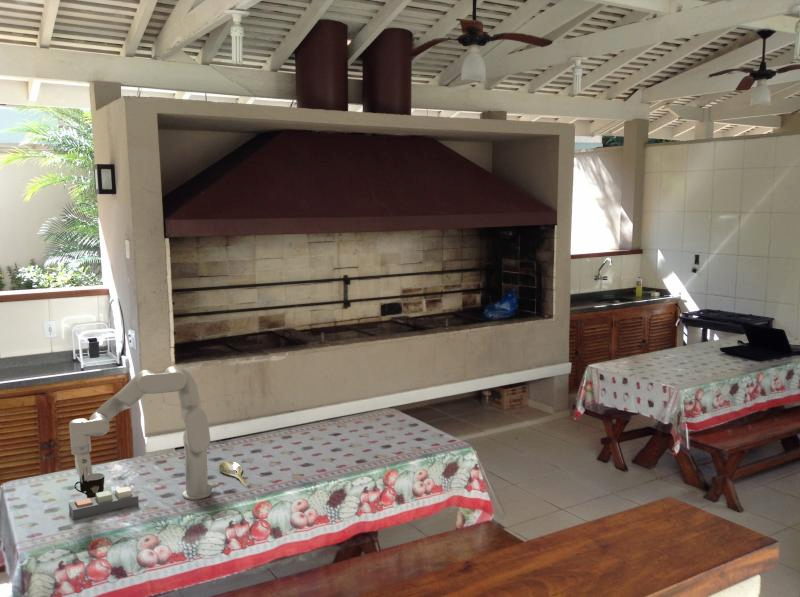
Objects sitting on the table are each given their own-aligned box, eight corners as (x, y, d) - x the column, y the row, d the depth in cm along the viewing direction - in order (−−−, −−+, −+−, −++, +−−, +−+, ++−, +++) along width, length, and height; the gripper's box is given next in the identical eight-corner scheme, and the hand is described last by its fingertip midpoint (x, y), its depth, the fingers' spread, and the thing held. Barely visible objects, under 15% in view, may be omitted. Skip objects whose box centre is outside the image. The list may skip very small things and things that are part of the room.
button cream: (128, 495, 312) (128, 486, 311) (131, 499, 307) (131, 490, 307) (115, 497, 309) (115, 489, 308) (118, 502, 304) (118, 493, 304)
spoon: (260, 489, 331) (260, 485, 330) (238, 494, 325) (238, 490, 325) (234, 462, 360) (234, 458, 359) (214, 466, 354) (214, 462, 354)
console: (133, 498, 315) (132, 489, 314) (138, 506, 308) (138, 496, 307) (69, 512, 300) (68, 502, 300) (73, 520, 293) (72, 510, 292)
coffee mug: (108, 494, 320) (107, 472, 319) (101, 502, 311) (100, 480, 310) (82, 494, 320) (81, 473, 318) (74, 502, 311) (73, 480, 310)
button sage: (109, 499, 307) (108, 490, 307) (112, 503, 303) (111, 494, 302) (95, 502, 304) (95, 493, 304) (98, 506, 300) (98, 497, 299)
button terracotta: (89, 506, 303) (89, 497, 303) (92, 511, 299) (91, 502, 298) (75, 509, 300) (75, 500, 300) (78, 514, 296) (77, 505, 295)
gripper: (94, 451, 292) (98, 494, 295) (87, 442, 304) (90, 483, 307) (74, 455, 288) (78, 498, 290) (68, 445, 300) (71, 487, 303)
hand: (85, 490), depth 299 cm, fingers closed
